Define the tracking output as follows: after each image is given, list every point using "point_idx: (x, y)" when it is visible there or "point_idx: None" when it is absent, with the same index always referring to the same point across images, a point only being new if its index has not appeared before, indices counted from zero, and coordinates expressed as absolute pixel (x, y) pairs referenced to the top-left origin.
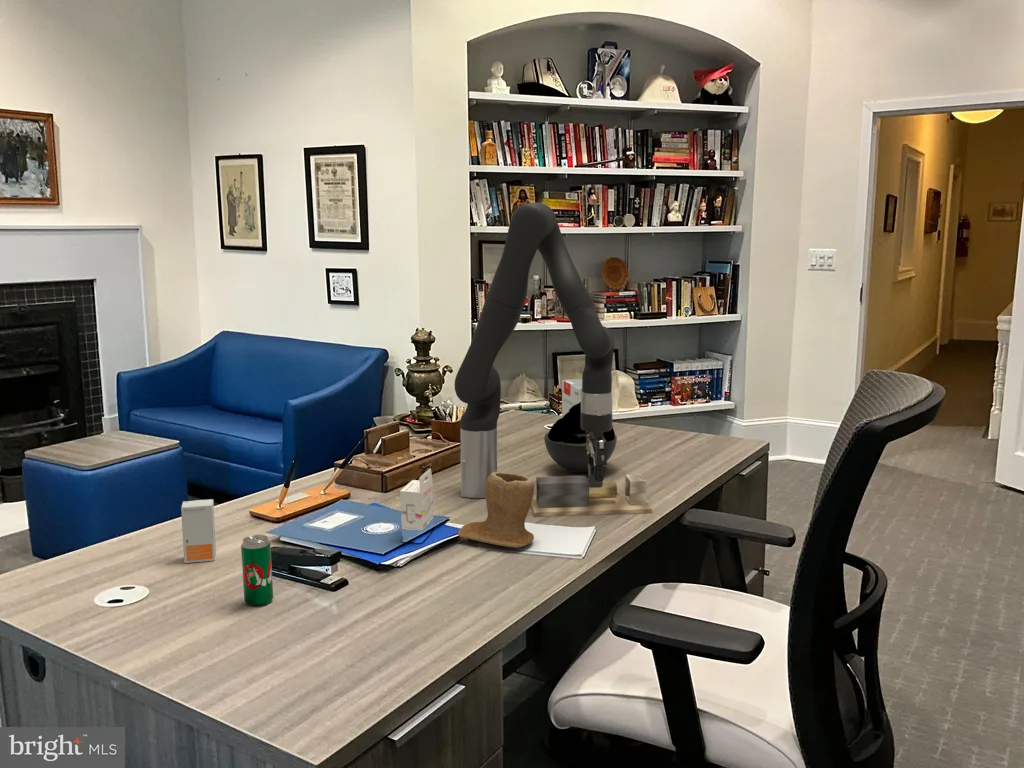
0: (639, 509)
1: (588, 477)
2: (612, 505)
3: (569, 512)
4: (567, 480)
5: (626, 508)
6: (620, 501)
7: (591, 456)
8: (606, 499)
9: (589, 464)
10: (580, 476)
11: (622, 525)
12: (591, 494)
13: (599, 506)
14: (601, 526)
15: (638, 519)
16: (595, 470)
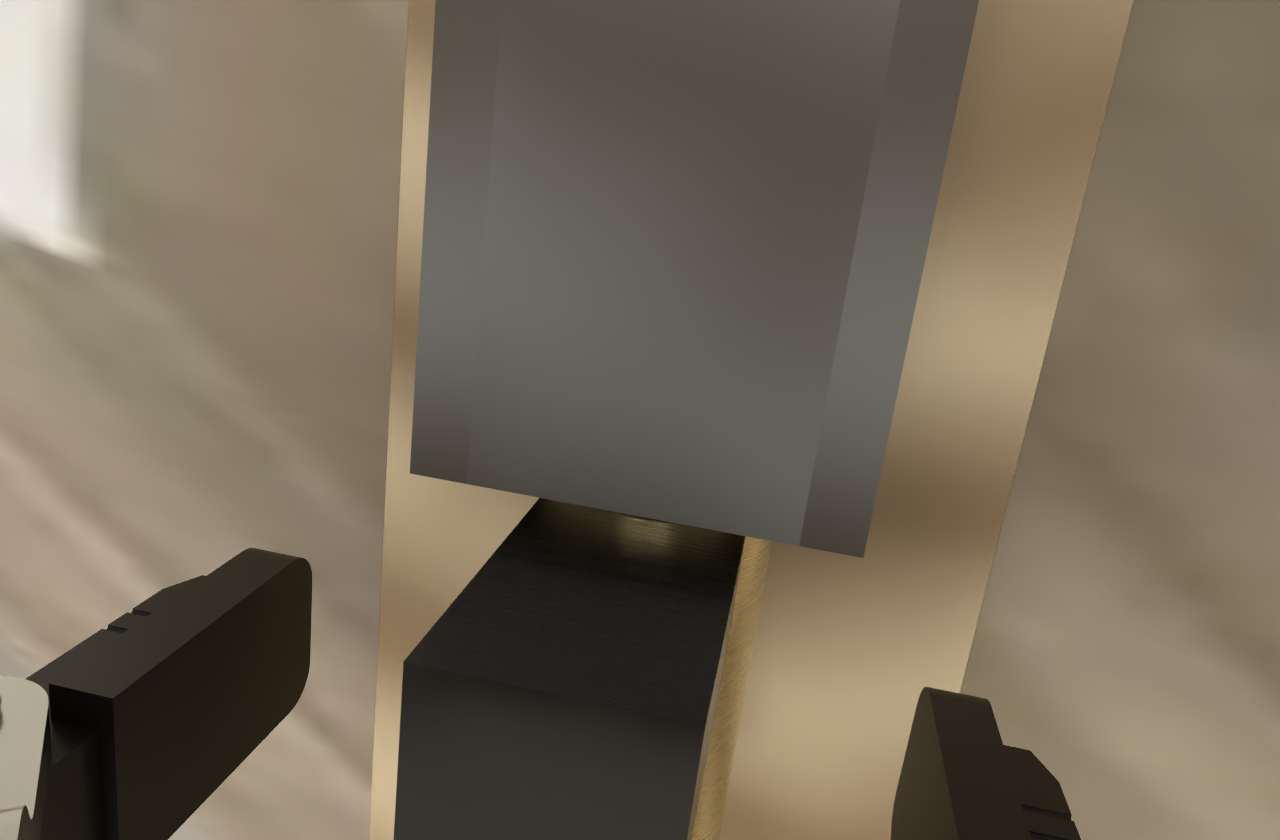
0: (370, 832)
1: (705, 567)
2: None
3: (411, 75)
4: (611, 107)
5: None
6: None
7: (9, 809)
8: (758, 667)
9: (588, 708)
10: (820, 452)
11: (91, 527)
12: None
13: (524, 496)
14: (72, 324)
15: None
16: (118, 647)
